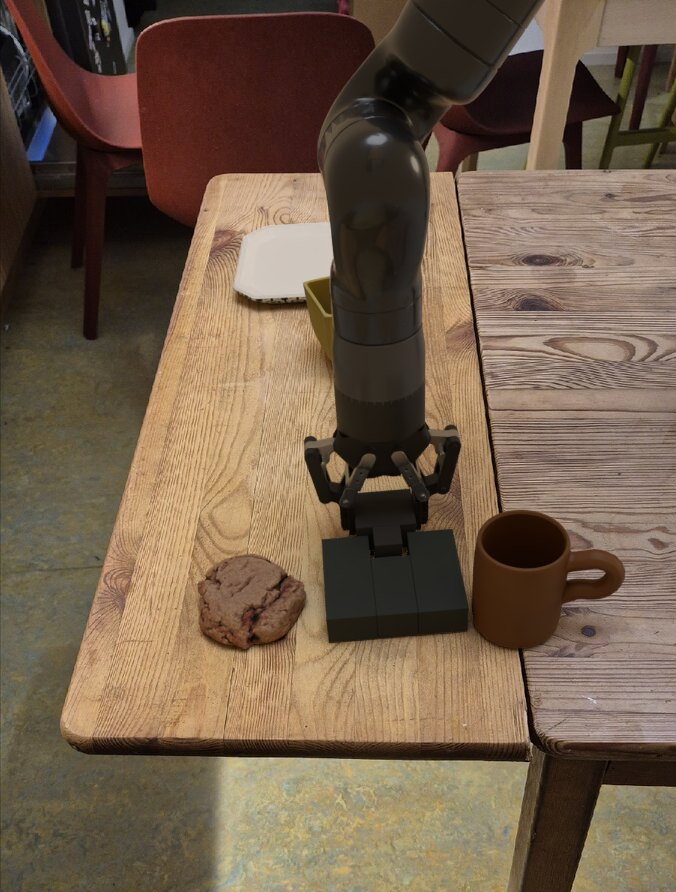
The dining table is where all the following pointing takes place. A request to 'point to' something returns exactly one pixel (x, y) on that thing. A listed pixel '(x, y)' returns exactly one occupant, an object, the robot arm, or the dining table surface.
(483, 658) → the dining table surface
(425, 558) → the base pad
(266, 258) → the plate
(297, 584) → the cookie
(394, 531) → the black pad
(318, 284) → the flower pot
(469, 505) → the dining table surface
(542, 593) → the mug
